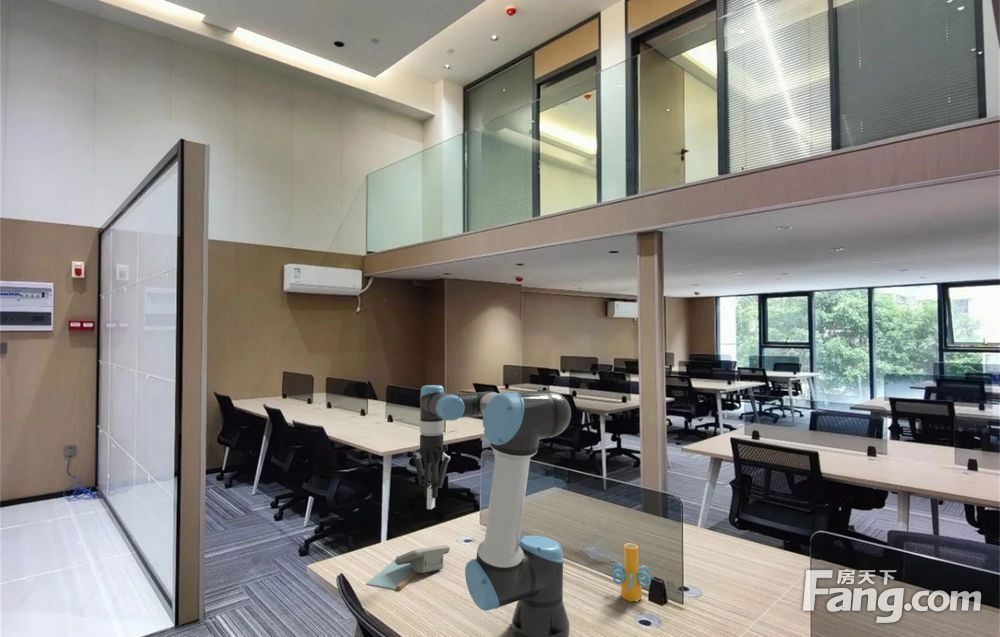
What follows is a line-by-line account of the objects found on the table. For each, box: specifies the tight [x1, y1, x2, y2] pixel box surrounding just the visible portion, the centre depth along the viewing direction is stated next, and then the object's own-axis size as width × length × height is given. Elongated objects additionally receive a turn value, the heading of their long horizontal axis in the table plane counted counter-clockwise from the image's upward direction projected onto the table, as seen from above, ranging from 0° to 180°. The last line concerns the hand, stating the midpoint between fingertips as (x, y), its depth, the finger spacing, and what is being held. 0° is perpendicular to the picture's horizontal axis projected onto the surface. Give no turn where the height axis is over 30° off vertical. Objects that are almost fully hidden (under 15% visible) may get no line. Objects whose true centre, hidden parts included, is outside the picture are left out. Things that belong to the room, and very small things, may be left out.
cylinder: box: [612, 542, 652, 602], centre depth 146 cm, size 12×10×15 cm
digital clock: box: [394, 544, 451, 574], centre depth 163 cm, size 16×9×11 cm
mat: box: [366, 559, 420, 591], centre depth 159 cm, size 12×18×1 cm, turn 162°
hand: (430, 507), depth 157 cm, fingers closed
